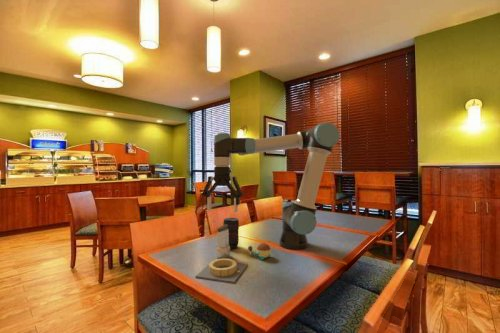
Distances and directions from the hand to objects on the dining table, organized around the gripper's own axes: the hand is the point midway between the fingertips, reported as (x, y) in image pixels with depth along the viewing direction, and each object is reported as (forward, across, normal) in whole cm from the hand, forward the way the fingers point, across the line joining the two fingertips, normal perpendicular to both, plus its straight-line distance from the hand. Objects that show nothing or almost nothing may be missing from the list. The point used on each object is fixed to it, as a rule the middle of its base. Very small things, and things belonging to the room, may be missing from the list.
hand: (222, 211), depth 111 cm
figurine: (+22, -17, -5) cm, 28 cm away
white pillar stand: (+22, 0, 0) cm, 22 cm away
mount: (+22, -6, +14) cm, 26 cm away
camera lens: (+22, +1, -13) cm, 25 cm away
